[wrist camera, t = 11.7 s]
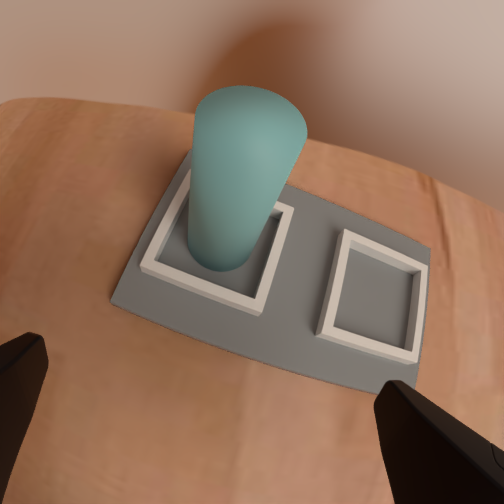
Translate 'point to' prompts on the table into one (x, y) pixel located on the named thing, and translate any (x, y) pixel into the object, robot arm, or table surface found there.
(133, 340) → the table surface
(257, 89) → the pin
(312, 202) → the pin board
